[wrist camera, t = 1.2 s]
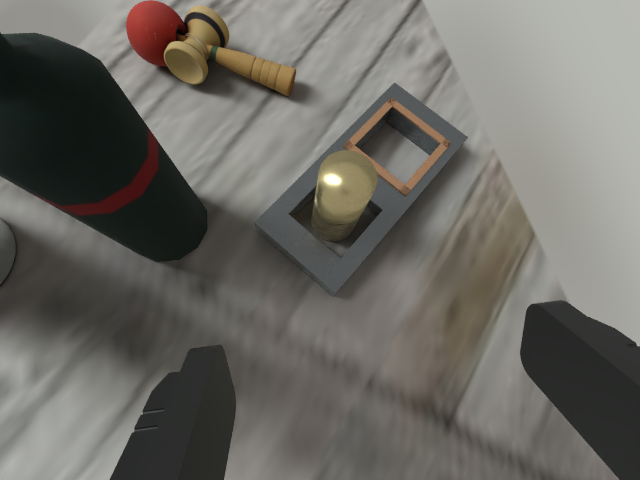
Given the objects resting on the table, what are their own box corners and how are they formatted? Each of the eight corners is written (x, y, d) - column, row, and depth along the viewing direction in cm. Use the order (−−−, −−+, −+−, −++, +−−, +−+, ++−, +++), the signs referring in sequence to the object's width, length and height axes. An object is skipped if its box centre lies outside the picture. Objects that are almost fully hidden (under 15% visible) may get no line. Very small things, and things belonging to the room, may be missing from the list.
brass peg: (302, 221, 35) (306, 178, 25) (330, 192, 36) (344, 139, 27) (335, 250, 34) (352, 216, 25) (363, 219, 36) (389, 175, 26)
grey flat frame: (257, 230, 34) (254, 221, 32) (388, 97, 40) (395, 81, 37) (332, 296, 33) (336, 293, 31) (457, 149, 39) (468, 136, 36)
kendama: (300, 68, 42) (152, 11, 40) (306, 34, 36) (131, -36, 33) (281, 125, 41) (128, 71, 39) (284, 101, 35) (102, 34, 33)
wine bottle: (116, 178, 35) (-727, -582, 6) (215, 193, 35) (-132, -457, 6) (91, 252, 33) (-1429, -391, 4) (198, 267, 33) (-456, -216, 4)
